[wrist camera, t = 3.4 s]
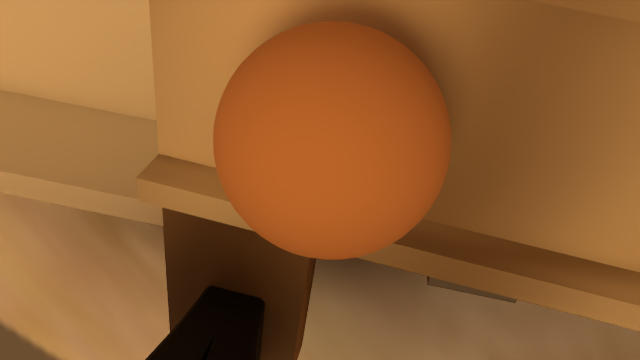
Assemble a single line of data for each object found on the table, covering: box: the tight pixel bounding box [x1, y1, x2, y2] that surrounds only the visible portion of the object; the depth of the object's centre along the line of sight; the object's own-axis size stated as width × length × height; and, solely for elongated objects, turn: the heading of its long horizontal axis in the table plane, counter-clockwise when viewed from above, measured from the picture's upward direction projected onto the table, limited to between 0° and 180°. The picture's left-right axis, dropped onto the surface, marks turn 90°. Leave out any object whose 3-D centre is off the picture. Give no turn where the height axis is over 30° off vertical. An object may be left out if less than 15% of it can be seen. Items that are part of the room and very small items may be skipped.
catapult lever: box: [136, 0, 640, 360], centre depth 9 cm, size 12×10×3 cm
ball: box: [213, 21, 451, 260], centre depth 7 cm, size 3×3×3 cm
